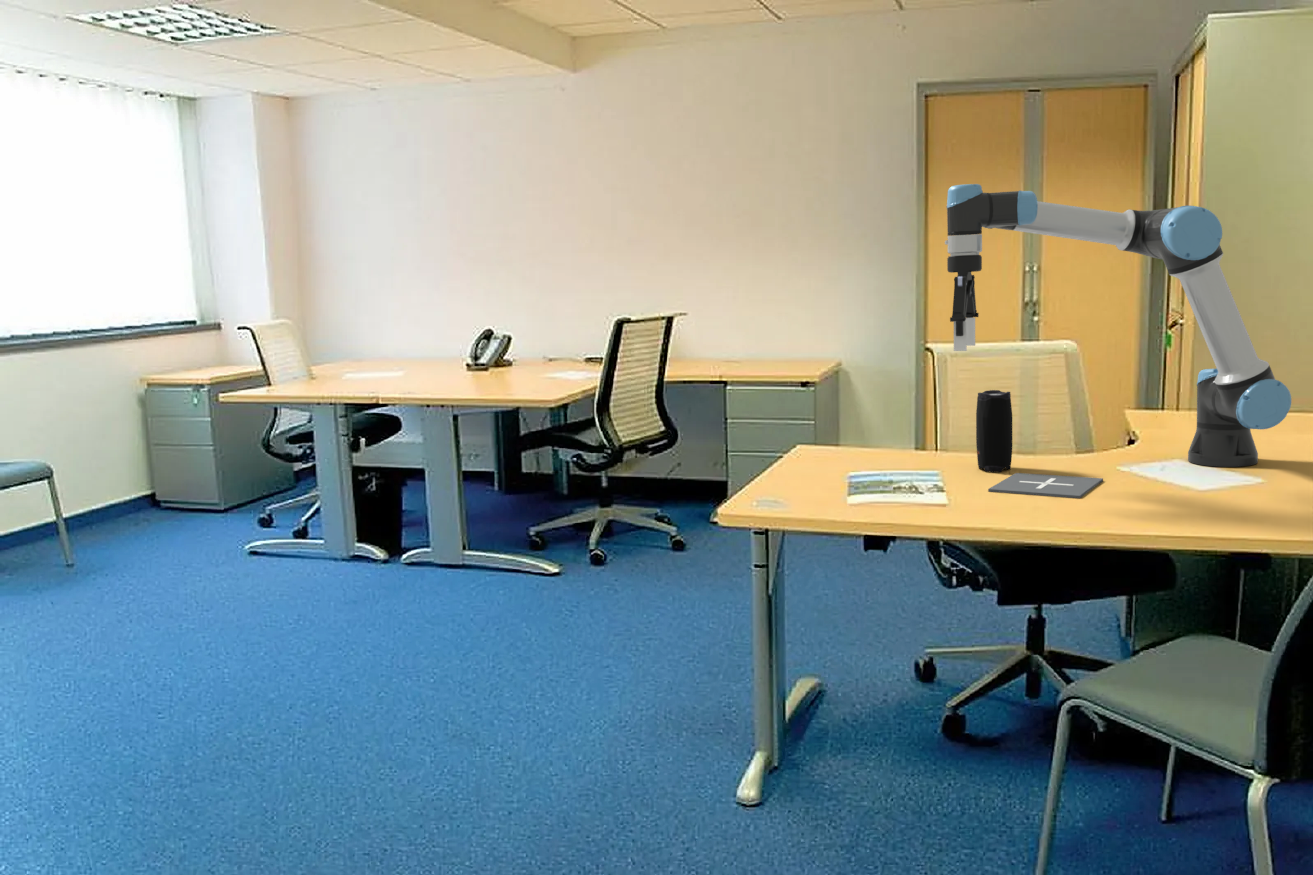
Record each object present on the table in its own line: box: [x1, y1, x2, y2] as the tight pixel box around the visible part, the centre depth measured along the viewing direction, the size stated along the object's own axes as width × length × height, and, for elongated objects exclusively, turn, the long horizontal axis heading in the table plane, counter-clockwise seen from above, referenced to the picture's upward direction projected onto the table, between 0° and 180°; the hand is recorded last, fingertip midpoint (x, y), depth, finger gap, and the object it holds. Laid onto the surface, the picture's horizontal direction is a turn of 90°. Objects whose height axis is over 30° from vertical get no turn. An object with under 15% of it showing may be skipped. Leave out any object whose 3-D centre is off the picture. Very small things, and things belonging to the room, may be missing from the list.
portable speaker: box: [975, 389, 1013, 473], centre depth 270 cm, size 9×9×20 cm
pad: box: [987, 472, 1104, 499], centre depth 249 cm, size 20×20×1 cm
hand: (964, 348), depth 249 cm, fingers open, 13 cm apart
